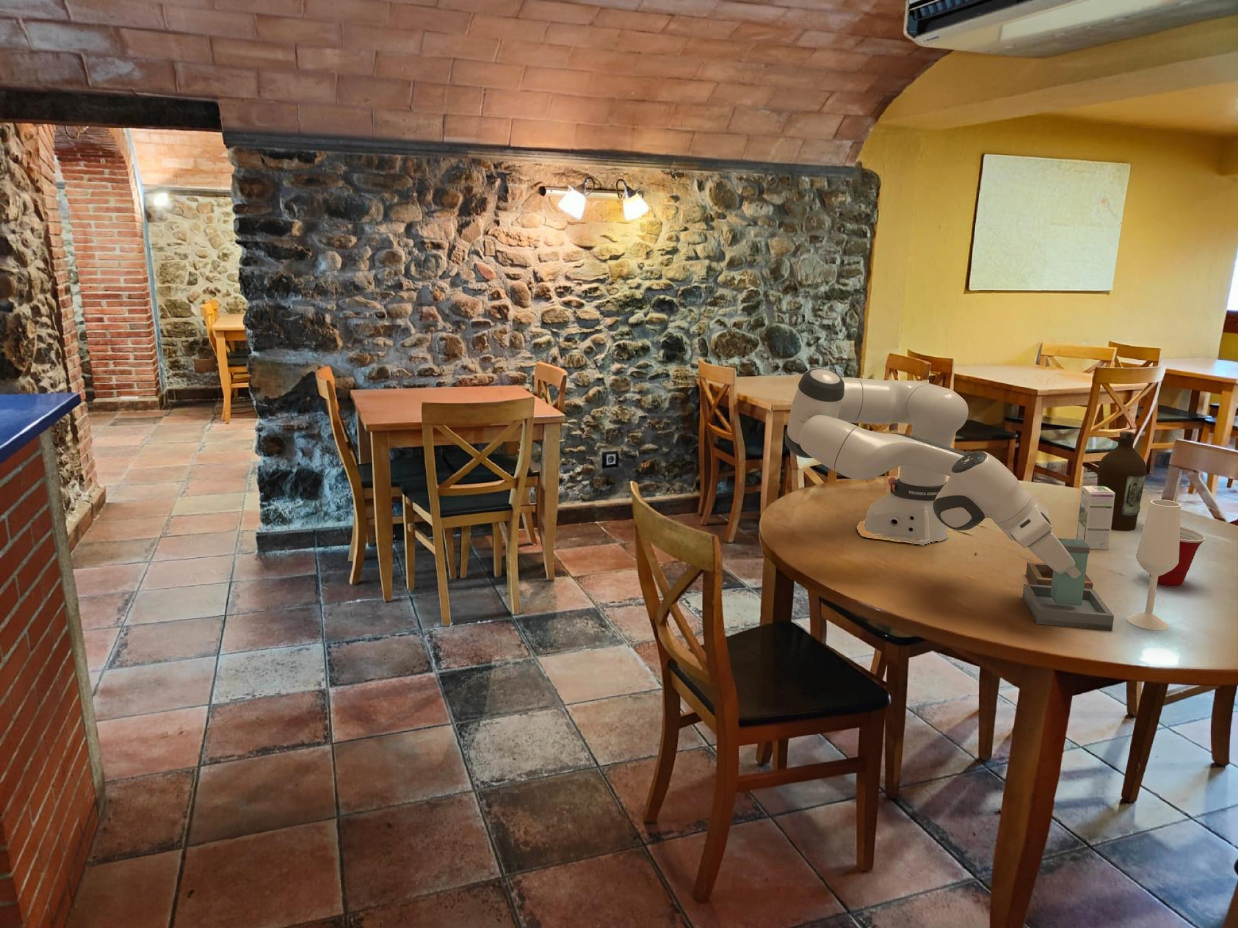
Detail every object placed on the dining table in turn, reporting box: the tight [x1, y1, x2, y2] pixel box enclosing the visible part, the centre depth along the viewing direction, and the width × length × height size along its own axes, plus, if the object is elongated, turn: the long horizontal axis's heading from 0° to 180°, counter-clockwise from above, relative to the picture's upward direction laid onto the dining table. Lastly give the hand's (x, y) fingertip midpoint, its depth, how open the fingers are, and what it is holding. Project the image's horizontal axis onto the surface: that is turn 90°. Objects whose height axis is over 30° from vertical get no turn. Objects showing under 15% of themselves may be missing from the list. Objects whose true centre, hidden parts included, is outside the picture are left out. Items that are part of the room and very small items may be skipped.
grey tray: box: [1021, 583, 1115, 632], centre depth 156 cm, size 13×13×3 cm
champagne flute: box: [1126, 499, 1182, 631], centre depth 149 cm, size 7×7×24 cm
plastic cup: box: [1149, 525, 1207, 588], centre depth 169 cm, size 11×11×12 cm
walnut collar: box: [1025, 561, 1094, 589], centre depth 170 cm, size 10×10×3 cm
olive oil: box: [1096, 430, 1148, 532], centre depth 205 cm, size 11×11×25 cm
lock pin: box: [1050, 537, 1091, 606], centre depth 155 cm, size 5×5×12 cm
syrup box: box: [1075, 485, 1115, 551], centre depth 192 cm, size 6×6×14 cm
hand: (1072, 569), depth 154 cm, fingers closed on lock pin, 4 cm apart
